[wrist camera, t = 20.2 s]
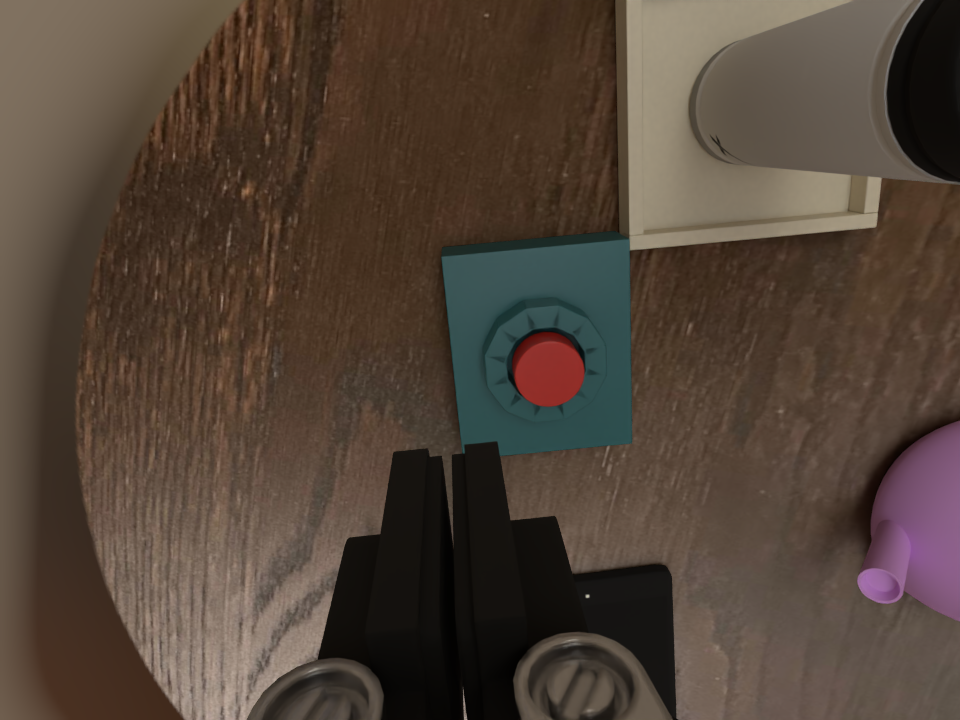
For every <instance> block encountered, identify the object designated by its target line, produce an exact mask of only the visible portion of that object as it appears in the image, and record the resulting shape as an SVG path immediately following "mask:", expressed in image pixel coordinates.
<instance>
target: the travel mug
mask: <svg viewBox="0 0 960 720" xmlns="http://www.w3.org/2000/svg"><path fill="white" fill-rule="evenodd" d="M690 120H691V126H692V129H693V131H694V134H695V137H696V138H697V140H698V142H699V143H700V145H701V146H702V147H703V148H704V149H705V150H706V151H707V152H708V153H709V154H710V155H711V156H713V157H715V158H716V159H718V160H720V161H723V162H725V163H728V164H736V165H745V166H756V167H768V168H779V169H790V170H801V171H812V172H824V173H835V174H846V175H857V176H868V177H880V178H891V179H902V180H913V181H925V182H936V183H950V184H958V185H960V0H854V1H851V2H848V3H845V4H842V5H839V6H836V7H833V8H831V9H828V10H825V11H822V12H819V13H816V14H813V15H810V16H808V17H805V18H802V19H799V20H796V21H793V22H790V23H787V24H785V25H782V26H779V27H776V28H773V29H770V30H767V31H764V32H762V33H759V34H756V35H753V36H750V37H748V38H744V39H741V40H739V41H736V42H733V43H731V44H729V45H728V46H726V47H724V48H722V49H721V50H720V51H718V52H717V53H716V54H715V55H713V56H712V57H711V59H710V60H709V61H708V62H707V63H706V64H705V65H704V67H703V68H702V70H701V72H700V73H699V75H698V77H697V79H696V81H695V84H694V86H693V89H692V94H691V98H690Z"/></svg>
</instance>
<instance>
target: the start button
mask: <svg viewBox="0 0 960 720" xmlns="http://www.w3.org/2000/svg"><path fill="white" fill-rule="evenodd" d="M512 370H513V375H514V379H515V383H516V386H517V388H518V390H519V392H520V393H521V394H522V396H523V397H524V398H525V399H527V400H528V401H529V402H531V403H533V404H536V405H539V406H545V407H552V406H557V405H561V404H563V403H565V402H567V401H569V400H570V399H571V398H572V397H574V396H575V395H576V393H577V392H578V391H579V389H580V388H581V386H582V383H583V380H584V373H585V370H584V364H583V361H582V359H581V357H580V355H579V353H578V352H577V350H576V348H575V347H574V345H573V344H572V342H571V341H570V340H568V339H567V338H566V337H564V336H562V335H560V334H558V333H554V332H540V333H536V334H534V335H531V336H529V337H528V338H526V339H525V340H524V341H523V342H522V343H521V344H520V345H519V346H518V347H517V349H516V351H515V353H514V356H513V360H512Z"/></svg>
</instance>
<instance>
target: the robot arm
mask: <svg viewBox="0 0 960 720" xmlns="http://www.w3.org/2000/svg"><path fill="white" fill-rule="evenodd" d="M464 448H465V453H464V454H454V455H452V486H453V540H454V549H453V541H452V533H451V525H450V516H449V508H448V500H447V492H446V484H445V476H444V468H443V461H442V456H435V457H430V456H429V451H428V448H426V449H417V450H407V451H397V452H394V453H393V458H392V465H391V471H390V477H389V483H388V490H387V496H386V502H385V509H384V515H383V521H382V527H381V534H379V535H369V536H360V537H350V538H348V539H347V541H346V544H345V547H344V551H343V555H342V560H341V564H340V568H339V572H338V576H337V581H336V585H335V589H334V593H333V597H332V602H331V606H330V610H329V614H328V618H327V622H326V627H325V631H324V635H323V639H322V643H321V648H320V652H319V656H318V660H316V661H313V662H310V663H307V664H304V665H301V666H298V667H296V668H295V669H293V670H291V671H290V672H288V673H286V674H285V675H283V676H281V677H280V678H278V679H277V680H276V681H275V682H274V683H273V684H272V685H271V686H270V687H269V688H267V689H266V690H265V691H264V692H263V694H262V695H261V697H260V698H259V700H258V701H257V702H256V704H255V705H254V707H253V708H252V710H251V712H250V714H249V716H248V718H247V720H464V709H463V690H464V698H465V706H466V713H467V720H678V719H676V718H674V717H672V716H671V715H670V713H669V712H668V710H667V708H666V706H665V705H664V703H663V701H662V699H661V698H660V696H659V694H658V692H657V690H656V689H655V687H654V685H653V683H652V682H651V680H650V678H649V676H648V674H647V673H646V671H645V669H644V667H643V666H642V665H641V663H640V662H639V661H638V660H637V658H636V657H635V656H634V655H633V653H632V652H631V651H629V650H628V649H626V648H625V647H624V646H622V645H621V644H619V643H618V642H616V641H614V640H612V639H609V638H606V637H604V636H601V635H598V634H592V633H589V631H588V628H587V624H586V621H585V617H584V614H583V610H582V606H581V603H580V599H579V596H578V592H577V589H576V585H575V582H574V578H573V574H572V571H571V567H570V564H569V560H568V557H567V553H566V549H565V546H564V542H563V539H562V535H561V532H560V528H559V525H558V521H557V519H556V517H555V516H550V517H540V518H531V519H521V520H512V521H510V515H509V509H508V503H507V496H506V490H505V484H504V478H503V472H502V466H501V460H500V453H499V447H498V442H497V441H494V442H484V443H475V444H465V445H464Z"/></svg>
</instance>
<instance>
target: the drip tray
mask: <svg viewBox="0 0 960 720" xmlns="http://www.w3.org/2000/svg"><path fill="white" fill-rule="evenodd" d="M851 1H854V0H615V13H616V69H617V126H618V182H619V233H620V234H621V235H623V236H625V237H626V238H628V239H629V240H630V251H631V250H641V249H652V248H662V247H673V246H684V245H694V244H705V243H715V242H726V241H737V240H747V239H758V238H768V237H779V236H789V235H800V234H811V233H821V232H832V231H842V230H853V229H864V228H874V227H876V226H877V216H878V213H876V212H878V206H879V197H880V188H881V179H882V178H880V177H868V176H857V175H846V174H835V173H824V172H812V171H801V170H790V169H779V168H768V167H756V166H745V165H736V164H728V163H725V162H723V161H720V160H718V159H716V158H715V157H713V156H711V155H710V154H709V153H708V152H707V151H706V150H705V149H704V148H703V147H702V146H701V145H700V143H699V142H698V140H697V138H696V137H695V134H694V131H693V129H692V126H691V120H690V98H691V94H692V89H693V86H694V84H695V81H696V79H697V77H698V75H699V73H700V72H701V70H702V68H703V67H704V65H705V64H706V63H707V62H708V61H709V60H710V59H711V57H712V56H713V55H715V54H716V53H717V52H718V51H720V50H721V49H722V48H724V47H726V46H728V45H729V44H731V43H733V42H736V41H739V40H741V39H744V38H748V37H750V36H753V35H756V34H759V33H762V32H764V31H767V30H770V29H773V28H776V27H779V26H782V25H785V24H787V23H790V22H793V21H796V20H799V19H802V18H805V17H808V16H810V15H813V14H816V13H819V12H822V11H825V10H828V9H831V8H833V7H836V6H839V5H842V4H845V3H848V2H851Z"/></svg>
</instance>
